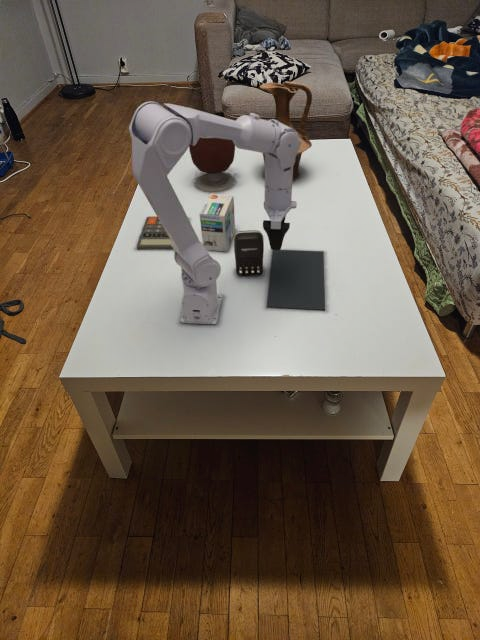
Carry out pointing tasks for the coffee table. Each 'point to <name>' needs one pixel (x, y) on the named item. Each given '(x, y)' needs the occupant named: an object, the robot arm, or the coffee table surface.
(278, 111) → the pitcher
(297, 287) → the mat
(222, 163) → the mate gourd
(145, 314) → the coffee table surface
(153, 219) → the calculator
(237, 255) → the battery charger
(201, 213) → the light bulb box
